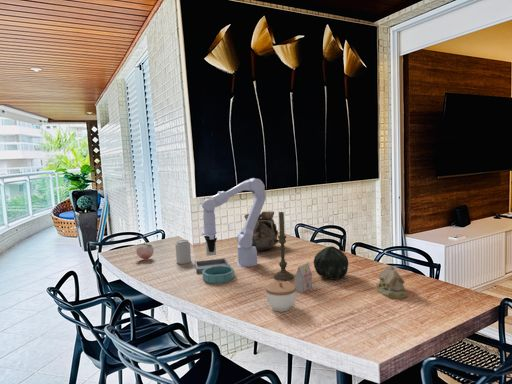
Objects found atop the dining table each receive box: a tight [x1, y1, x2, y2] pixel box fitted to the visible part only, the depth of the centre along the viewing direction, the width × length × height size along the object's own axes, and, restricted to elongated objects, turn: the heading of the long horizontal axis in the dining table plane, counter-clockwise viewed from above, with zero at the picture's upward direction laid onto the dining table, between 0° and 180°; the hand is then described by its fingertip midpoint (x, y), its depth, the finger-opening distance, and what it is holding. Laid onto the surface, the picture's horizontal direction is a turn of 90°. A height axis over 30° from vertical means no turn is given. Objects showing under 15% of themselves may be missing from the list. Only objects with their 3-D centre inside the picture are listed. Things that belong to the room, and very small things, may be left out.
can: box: [175, 239, 192, 265], centre depth 188 cm, size 8×8×12 cm
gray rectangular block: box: [205, 241, 217, 257], centre depth 176 cm, size 4×4×6 cm
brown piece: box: [244, 210, 279, 251], centre depth 211 cm, size 25×24×22 cm
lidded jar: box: [265, 281, 297, 312], centre depth 127 cm, size 11×11×9 cm
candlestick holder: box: [273, 210, 295, 281], centre depth 158 cm, size 9×9×30 cm
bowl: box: [201, 266, 235, 285], centre depth 162 cm, size 14×14×4 cm
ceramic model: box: [375, 265, 408, 299], centre depth 137 cm, size 14×11×10 cm
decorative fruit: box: [135, 241, 154, 260], centre depth 198 cm, size 9×8×10 cm
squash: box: [313, 245, 349, 281], centre depth 157 cm, size 14×15×15 cm
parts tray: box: [194, 257, 231, 274], centre depth 177 cm, size 16×14×2 cm
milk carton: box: [294, 262, 313, 294], centre depth 143 cm, size 4×7×10 cm, turn 138°
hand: (211, 250), depth 176 cm, fingers closed on gray rectangular block, 4 cm apart
